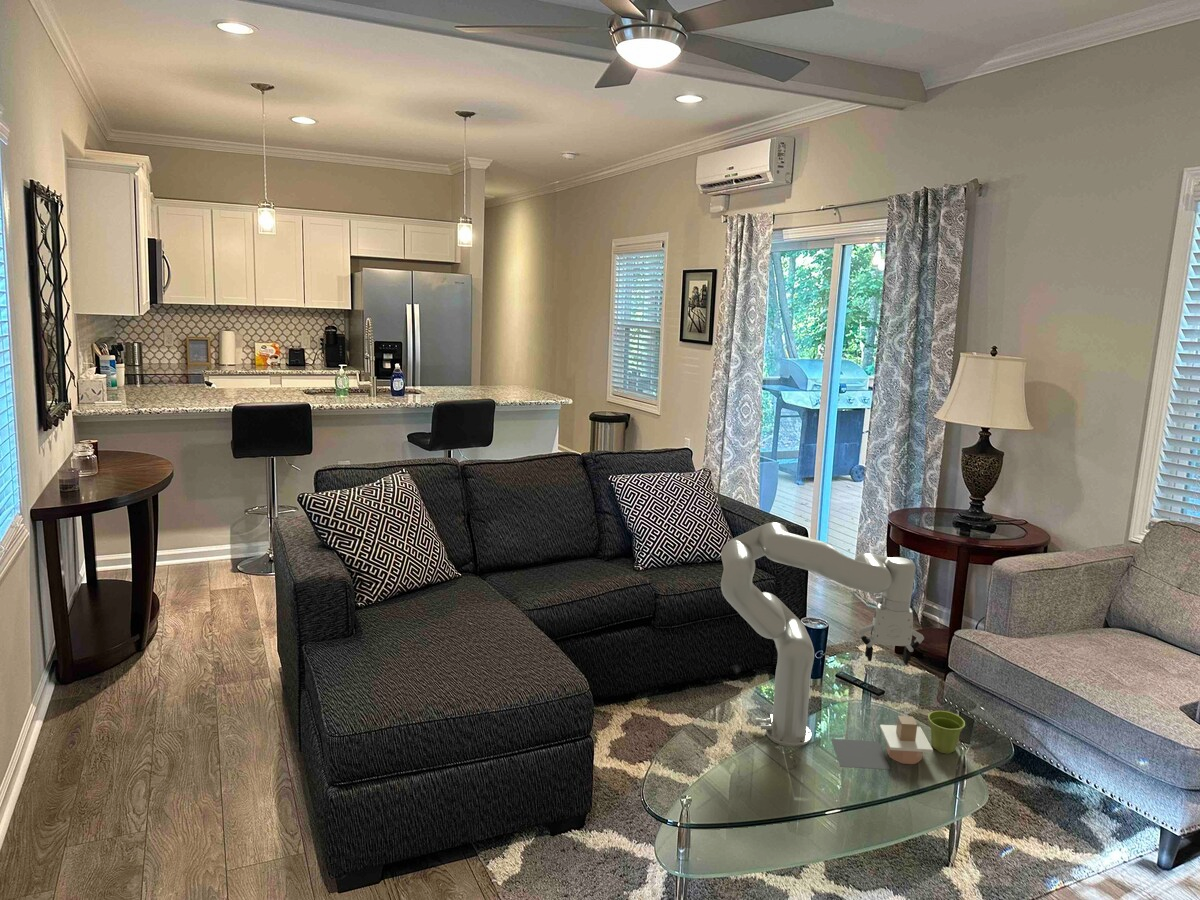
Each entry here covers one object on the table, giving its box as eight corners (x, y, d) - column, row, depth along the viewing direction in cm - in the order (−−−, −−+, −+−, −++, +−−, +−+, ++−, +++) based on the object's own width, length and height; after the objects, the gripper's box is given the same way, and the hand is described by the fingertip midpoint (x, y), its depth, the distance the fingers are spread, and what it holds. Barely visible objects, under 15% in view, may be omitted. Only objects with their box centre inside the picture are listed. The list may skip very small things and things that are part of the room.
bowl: (891, 764, 225) (893, 747, 224) (883, 745, 233) (884, 729, 232) (925, 766, 224) (927, 749, 223) (915, 747, 233) (917, 731, 232)
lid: (890, 750, 223) (892, 730, 221) (879, 727, 233) (881, 708, 232) (932, 752, 222) (934, 732, 221) (920, 729, 233) (922, 710, 231)
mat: (840, 768, 223) (840, 766, 223) (830, 740, 235) (830, 738, 235) (890, 771, 222) (890, 769, 222) (878, 743, 234) (878, 741, 234)
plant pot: (964, 759, 227) (968, 731, 225) (928, 755, 229) (931, 726, 227) (957, 740, 236) (961, 712, 234) (922, 736, 238) (925, 708, 236)
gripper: (864, 605, 224) (856, 663, 228) (932, 612, 222) (922, 670, 226) (860, 594, 232) (852, 651, 236) (925, 600, 230) (916, 657, 234)
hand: (886, 660), depth 231 cm, fingers open, 9 cm apart
